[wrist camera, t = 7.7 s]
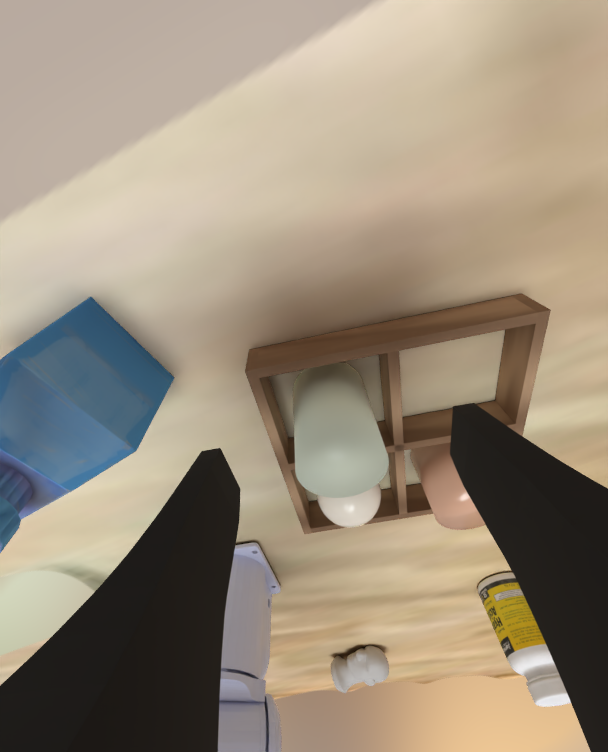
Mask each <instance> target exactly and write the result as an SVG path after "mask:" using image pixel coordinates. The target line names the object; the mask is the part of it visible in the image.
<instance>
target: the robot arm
mask: <svg viewBox="0 0 608 752" xmlns="http://www.w3.org/2000/svg"><path fill="white" fill-rule="evenodd" d="M450 456H451V458H452V461H453V463H454V465H455V468H456V470H457V473H458V475H459V477H460V479H461V482H462V484H463V486H464V488H465V489H466V491H467V493H468V495H469V496H470V498H471V500H472V502H473V503H474V505H475V507H476V509H477V510H478V512H479V514H480V516H481V517H482V519H483V521H484V522H485V524H486V526H487V528H488V529H489V531H490V533H491V535H492V536H493V538H494V540H495V541H496V543H497V545H498V547H499V548H500V550H501V552H502V553H503V555H504V557H505V559H506V561H507V562H508V564H509V566H510V568H511V570H512V572H513V574H514V576H515V578H516V580H517V582H518V584H519V586H520V588H521V591H522V593H523V595H524V597H525V599H526V601H527V603H528V605H529V608H530V610H531V612H532V614H533V616H534V618H535V621H536V623H537V625H538V627H539V630H540V632H541V634H542V636H543V639H544V641H545V643H546V645H547V647H548V650H549V652H550V654H551V656H552V659H553V661H554V663H555V666H556V668H557V671H558V673H559V675H560V678H561V680H562V682H563V685H564V687H565V689H566V692H567V694H568V696H569V699H570V701H571V703H572V706H573V708H574V710H575V713H576V715H577V718H578V720H579V723H580V725H581V728H582V730H583V733H584V735H585V738H586V740H587V743H588V745H589V748H590V750H591V752H608V489H607V488H606V487H604V486H602V485H600V484H598V483H597V482H595V481H593V480H591V479H590V478H588V477H586V476H585V475H583V474H581V473H580V472H578V471H576V470H574V469H573V468H571V467H569V466H568V465H566V464H564V463H563V462H561V461H560V460H558V459H556V458H555V457H553V456H552V455H550V454H548V453H547V452H545V451H544V450H542V449H541V448H539V447H538V446H536V445H534V444H533V443H531V442H530V441H528V440H527V439H525V438H524V437H522V436H521V435H519V434H518V433H517V432H515V431H514V430H512V429H511V428H509V427H508V426H506V425H505V424H503V423H502V422H501V421H499V420H498V419H496V418H495V417H493V416H492V415H491V414H489V413H488V412H486V411H485V410H483V409H482V408H481V407H479V406H478V405H476V404H475V403H471V404H465V405H460V406H454V407H453V414H452V428H451V443H450ZM239 512H240V487H239V485H238V483H237V481H236V479H235V477H234V475H233V473H232V471H231V469H230V467H229V465H228V463H227V461H226V459H225V457H224V455H223V453H222V451H221V449H220V448H218V449H212V450H207V451H202V452H201V453H200V455H199V456H198V458H197V459H196V460H195V462H194V463H193V465H192V466H191V468H190V469H189V471H188V472H187V474H186V475H185V477H184V478H183V479H182V481H181V482H180V484H179V485H178V487H177V488H176V490H175V491H174V493H173V494H172V495H171V497H170V498H169V500H168V501H167V503H166V504H165V505H164V507H163V508H162V510H161V511H160V512H159V514H158V515H157V517H156V518H155V519H154V521H153V522H152V523H151V525H150V526H149V527H148V529H147V530H146V531H145V533H144V534H143V535H142V536H141V538H140V539H139V540H138V542H137V543H136V544H135V546H134V547H133V548H132V549H131V551H130V552H129V553H128V554H127V556H126V557H125V558H124V559H123V560H122V562H121V563H120V564H119V565H118V566H117V568H116V569H115V570H114V571H113V572H112V573H111V574H110V576H109V577H108V578H107V579H106V580H105V581H104V582H103V584H102V585H101V586H100V587H99V588H98V589H97V590H96V591H95V592H94V594H93V595H92V596H91V597H90V598H89V599H88V600H87V601H86V602H85V603H84V604H83V605H82V606H81V607H80V608H79V609H78V610H77V611H76V612H75V613H74V614H73V615H72V617H71V618H70V619H69V620H68V621H67V622H66V623H65V624H64V625H63V626H62V627H61V628H60V629H59V630H58V631H57V632H56V633H55V634H54V635H53V636H52V637H51V638H50V639H49V640H48V641H47V642H46V643H45V644H44V645H43V646H42V647H41V648H40V649H39V650H38V651H37V652H36V653H35V654H34V655H33V656H32V657H31V658H30V659H28V660H27V661H26V662H25V663H24V664H23V665H22V666H21V667H20V668H19V669H18V670H17V671H16V672H15V673H13V674H12V675H11V676H10V677H9V678H8V679H7V680H6V681H5V682H4V683H3V684H2V685H1V686H0V752H281V722H280V714H279V710H278V707H277V705H276V703H275V702H274V699H273V697H272V695H271V694H266V693H265V685H266V681H265V680H263V679H264V676H265V674H266V671H267V668H268V664H269V658H270V632H271V603H272V594H276V593H279V592H280V591H281V587H280V585H279V583H278V581H277V579H276V577H275V575H274V573H273V571H272V570H271V568H270V566H269V564H268V562H267V560H266V558H265V556H264V554H263V552H262V550H261V548H260V546H259V545H258V544H257V543H247V544H241V545H235V544H236V538H237V531H238V524H239Z"/></svg>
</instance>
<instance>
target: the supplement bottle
mask: <svg viewBox="0 0 608 752" xmlns="http://www.w3.org/2000/svg"><path fill="white" fill-rule="evenodd" d="M478 593H479V595H480V598H481V600H482V602H483V605H484V607H485V609H486V611H487V614H488V616H489V618H490V621H491V623H492V625H493V628H494V630H495V632H496V635H497V637H498V639H499V642H500V644H501V646H502V648H503V651H504V653H505V655H506V658H507V660H508V662H509V664H510V666H511V667H512V669H513V670H514V671H516V672H517V673H518V674H521V675H524V676H525V677H526V678H527V680H528V682H527V686H528V690H529V692H530V694H531V696H532V698H533V700H534V702H535V704H536V705H538V706H545V707H547V706H558V705H564V704H568V703H571V701H570V699H569V696H568V694H567V692H566V689H565V687H564V685H563V682H562V680H561V678H560V675H559V673H558V671H557V668H556V666H555V663H554V661H553V659H552V656H551V654H550V652H549V650H548V647H547V645H546V643H545V641H544V639H543V636H542V634H541V632H540V630H539V627H538V625H537V623H536V621H535V618H534V616H533V614H532V612H531V610H530V608H529V605H528V603H527V601H526V599H525V597H524V595H523V593H522V591H521V588H520V586H519V584H518V582H517V580H516V578H515V576H514V574H513V573H512V572H510V573H501V574H497V575H494V576H491V577H488V578H486V579H485V580H483V581H482V582H481V583H480V584H479V586H478Z"/></svg>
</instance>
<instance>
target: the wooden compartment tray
mask: <svg viewBox="0 0 608 752" xmlns="http://www.w3.org/2000/svg"><path fill="white" fill-rule="evenodd" d="M550 311H551V310H550V309H548V308H546V307H544V306H543V305H541V304H539V303H537V302H536V301H534V300H532V299H530V298H528V297H527V296H525V295H523V294H518V295H513V296H509V297H504V298H499V299H494V300H489V301H484V302H479V303H475V304H470V305H465V306H460V307H455V308H450V309H445V310H440V311H436V312H431V313H426V314H421V315H416V316H411V317H406V318H401V319H397V320H392V321H387V322H382V323H377V324H372V325H367V326H362V327H358V328H353V329H348V330H343V331H338V332H333V333H328V334H323V335H319V336H314V337H309V338H304V339H299V340H294V341H289V342H284V343H280V344H275V345H270V346H265V347H260V348H255V349H250V350H249V354H248V359H247V364H246V369H245V372H246V375H247V378H248V381H249V383H250V386H251V389H252V392H253V394H254V397H255V400H256V403H257V405H258V408H259V411H260V414H261V416H262V419H263V422H264V425H265V427H266V430H267V433H268V435H269V438H270V441H271V444H272V446H273V449H274V452H275V455H276V457H277V460H278V463H279V466H280V468H281V471H282V474H283V477H284V479H285V482H286V485H287V488H288V490H289V493H290V496H291V499H292V501H293V504H294V507H295V510H296V512H297V515H298V518H299V521H300V523H301V526H302V529H303V532H304V534H308V533H314V532H321V531H327V530H333V529H339V528H346V527H342V526H339V525H337V524H335V523H333V522H332V521H330V520H329V519H328V518H327V517H326V516H325V515H324V513H323V512H322V510H321V508H320V506H319V503H318V501H313V502H308V498H307V495H306V492H305V489H304V487H303V486H302V485H301V484H300V482H299V481H298V479H297V477H296V473H295V444H294V437H293V438H288V436H287V433H286V430H285V427H284V424H283V421H282V417H281V414H280V411H279V408H278V405H277V402H276V399H275V396H274V392H273V389H272V386H271V383H270V380H269V377H268V376H273V375H278V374H283V373H288V372H293V371H298V370H303V369H308V368H313V367H318V366H323V365H328V364H333V363H338V362H343V361H348V360H353V359H358V358H364V357H369V356H374V355H379V360H380V371H381V382H382V393H383V404H384V415H385V421H381V422H377V425H378V428H379V431H380V434H381V437H382V440H383V443H384V446H385V449H386V452H387V453H388V458H389V470H390V481H391V489H385V490H381V502H380V506H379V508H378V510H377V512H376V514H375V515H374V517H373V518H372V519H371V520H370V521H368V522H367V523H365V524H371V523H377V522H383V521H390V520H396V519H402V518H409V517H415V516H421V515H427V514H433V511H432V509H431V506H430V504H429V502H428V499H427V497H426V494H425V492H424V489H423V487H422V485H421V484H415V485H409V486H406V480H405V460H404V450H408V449H414V448H420V447H426V446H431V445H437V444H443V443H448V442H451V428H452V414H453V408H452V409H447V410H441V411H436V412H430V413H425V414H419V415H414V416H409V417H403V418H402V402H401V383H400V363H399V350H404V349H409V348H414V347H419V346H424V345H429V344H434V343H439V342H444V341H449V340H454V339H460V338H465V337H470V336H475V335H480V334H485V333H490V332H495V331H500V330H505V329H506V332H505V338H504V345H503V352H502V358H501V365H500V372H499V379H498V385H497V392H496V399H495V401H491V402H485V403H480V404H476V405H478V406H479V407H481V408H482V409H483V410H485V411H486V412H488V413H489V414H491V415H492V416H493V417H495V418H496V419H498V420H499V421H501V422H502V423H503V424H505V425H506V426H508V427H509V428H511V429H512V430H514V431H515V432H517V433H518V434H519V435H521V436H522V435H523V431H524V426H525V422H526V417H527V413H528V408H529V404H530V400H531V395H532V391H533V386H534V382H535V377H536V373H537V368H538V364H539V360H540V355H541V351H542V346H543V342H544V337H545V333H546V329H547V324H548V320H549V315H550ZM365 524H363V525H365Z"/></svg>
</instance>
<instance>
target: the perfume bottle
mask: <svg viewBox="0 0 608 752" xmlns="http://www.w3.org/2000/svg"><path fill="white" fill-rule="evenodd" d="M173 379H174V377H173V376H172V375H171V374H170V373H169V372H168V371H167V370H166V369H165V368H164V367H163V366H162V365H161V364H160V363H159V362H158V361H157V360H156V359H154V358H153V357H152V356H151V355H150V354H149V353H148V352H147V351H146V350H145V349H144V348H143V347H142V346H141V345H140V344H139V343H138V342H137V341H136V340H135V339H134V338H133V337H132V336H131V335H130V334H129V333H128V332H127V331H126V330H125V329H124V328H123V327H121V326H120V325H119V324H118V323H117V322H116V321H115V320H114V319H113V318H112V317H111V316H110V315H109V314H108V313H107V312H106V311H105V310H104V309H103V308H102V307H101V306H100V305H99V304H98V303H97V302H96V301H95V300H94V299H93V298H92V297H90V298H88V299H87V300H85V301H84V302H82V303H81V304H80V305H78V306H77V307H75V308H74V309H72V310H71V311H69V312H68V313H66V314H65V315H64V316H62V317H61V318H59V319H58V320H56V321H55V322H53V323H52V324H51V325H49V326H48V327H46V328H45V329H43V330H42V331H40V332H39V333H37V334H36V335H35V336H33V337H32V338H30V339H29V340H27V341H26V342H24V343H23V344H22V345H20V346H19V347H17V348H16V349H14V350H13V351H11V352H10V353H8V354H7V355H6V356H5V357H3V358H2V359H1V360H0V553H1V552H2V550H3V549H4V547H5V546H6V545H7V543H8V542H9V541H10V539H11V538H12V536H13V535H14V534H15V532H16V531H17V530H18V528H19V525H20V521H21V519H23V518H24V517H26V516H28V515H30V514H32V513H33V512H35V511H37V510H39V509H41V508H42V507H44V506H46V505H48V504H50V503H51V502H53V501H55V500H57V499H59V498H60V497H62V496H64V495H66V494H68V493H69V492H71V491H73V490H74V489H76V488H78V487H79V486H81V485H82V484H84V483H86V482H87V481H89V480H90V479H92V478H94V477H95V476H97V475H98V474H100V473H102V472H103V471H105V470H106V469H108V468H110V467H111V466H113V465H114V464H116V463H118V462H119V461H121V460H122V459H124V458H126V457H127V456H129V455H130V454H132V453H134V452H135V451H136V450H137V448H138V447H139V445H140V443H141V441H142V439H143V437H144V435H145V433H146V431H147V429H148V427H149V425H150V423H151V422H152V420H153V418H154V416H155V414H156V412H157V410H158V408H159V406H160V404H161V402H162V400H163V399H164V397H165V395H166V393H167V391H168V389H169V387H170V385H171V383H172V381H173Z"/></svg>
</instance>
